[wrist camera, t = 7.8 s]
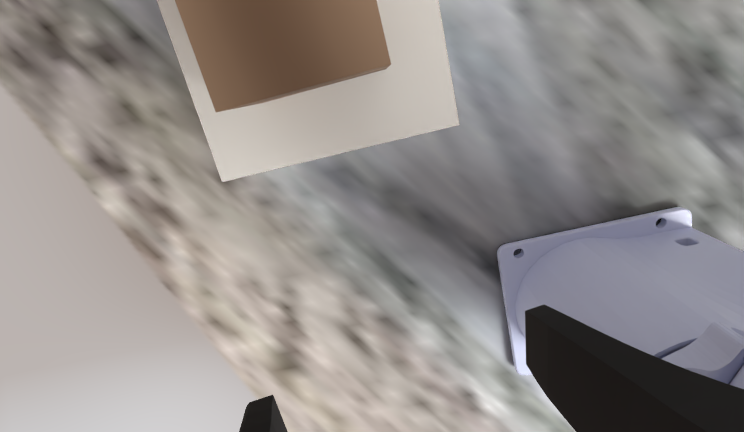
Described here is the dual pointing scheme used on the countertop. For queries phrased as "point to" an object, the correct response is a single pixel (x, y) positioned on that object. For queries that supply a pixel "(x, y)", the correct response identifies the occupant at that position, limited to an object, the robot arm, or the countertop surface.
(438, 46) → the cream plinth
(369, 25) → the walnut cube
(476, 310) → the countertop surface
